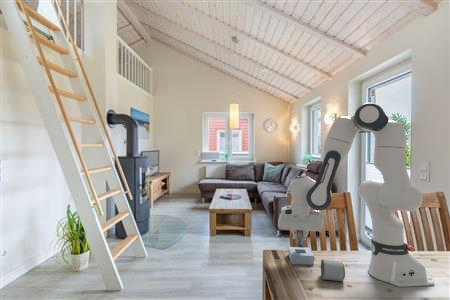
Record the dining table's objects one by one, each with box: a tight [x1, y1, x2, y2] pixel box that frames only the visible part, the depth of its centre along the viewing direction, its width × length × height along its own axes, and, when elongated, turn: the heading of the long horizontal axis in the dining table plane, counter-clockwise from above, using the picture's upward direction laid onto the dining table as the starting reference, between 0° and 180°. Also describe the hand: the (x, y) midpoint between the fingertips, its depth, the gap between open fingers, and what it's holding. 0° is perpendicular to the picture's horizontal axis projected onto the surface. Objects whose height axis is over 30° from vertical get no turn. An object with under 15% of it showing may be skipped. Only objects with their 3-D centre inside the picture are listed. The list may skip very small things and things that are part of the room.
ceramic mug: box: [320, 258, 346, 282], centre depth 107 cm, size 11×8×8 cm
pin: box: [295, 230, 304, 248], centre depth 124 cm, size 3×3×8 cm
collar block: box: [287, 246, 315, 266], centre depth 124 cm, size 10×10×4 cm
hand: (299, 239), depth 124 cm, fingers closed on pin, 3 cm apart
